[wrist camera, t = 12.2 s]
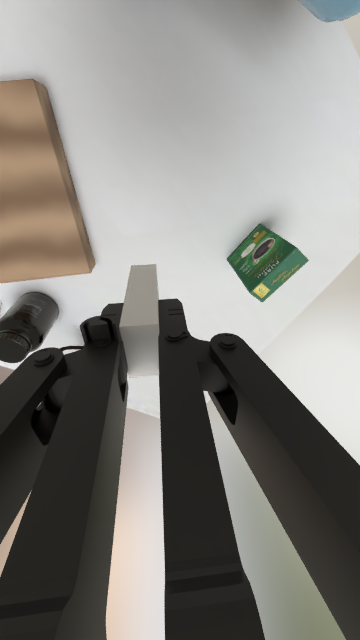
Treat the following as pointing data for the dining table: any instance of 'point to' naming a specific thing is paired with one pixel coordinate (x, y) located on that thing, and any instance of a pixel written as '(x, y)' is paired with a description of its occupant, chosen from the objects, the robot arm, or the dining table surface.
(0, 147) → the walnut board
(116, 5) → the dining table surface
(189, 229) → the dining table surface
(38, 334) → the supplement bottle
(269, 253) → the coffee box
